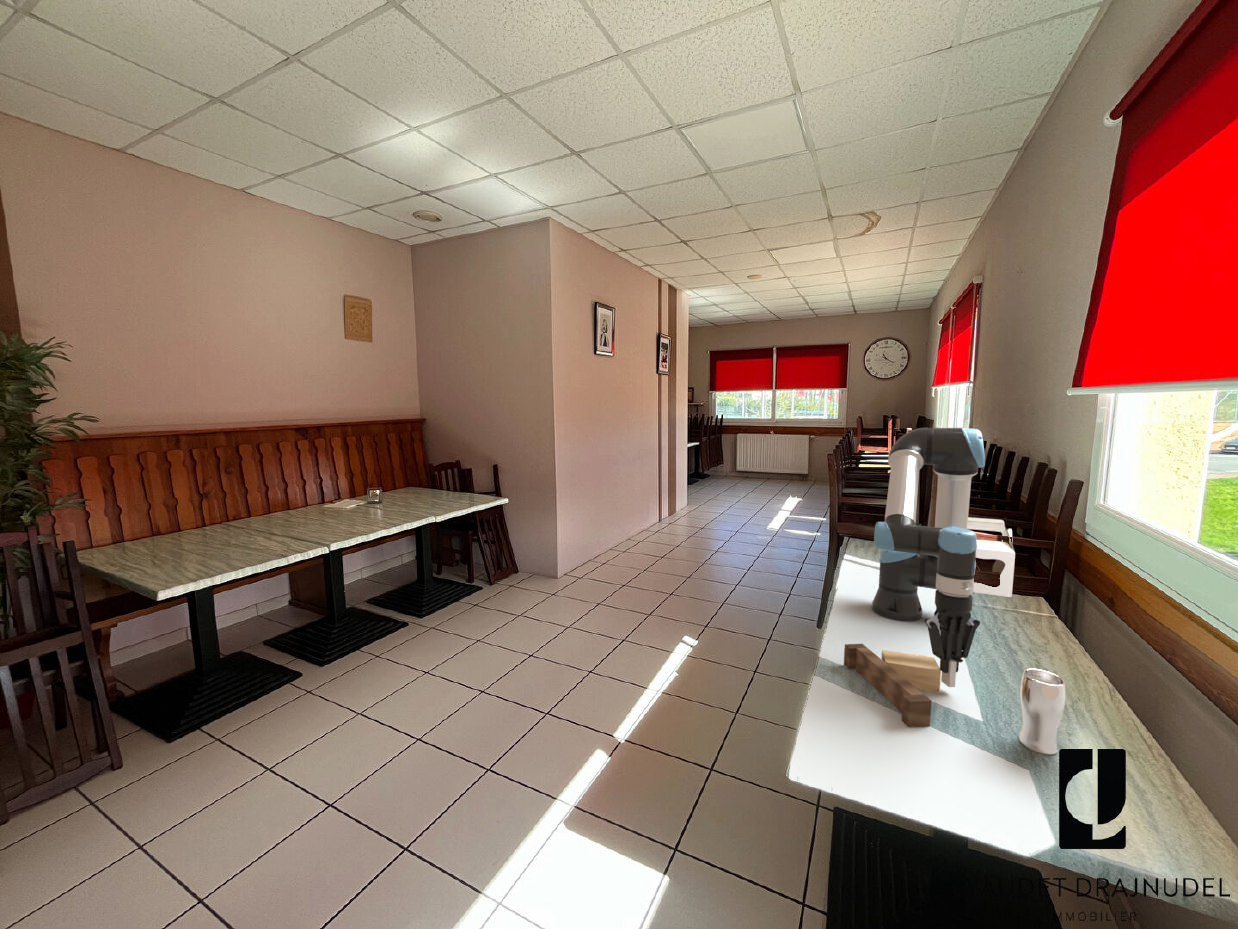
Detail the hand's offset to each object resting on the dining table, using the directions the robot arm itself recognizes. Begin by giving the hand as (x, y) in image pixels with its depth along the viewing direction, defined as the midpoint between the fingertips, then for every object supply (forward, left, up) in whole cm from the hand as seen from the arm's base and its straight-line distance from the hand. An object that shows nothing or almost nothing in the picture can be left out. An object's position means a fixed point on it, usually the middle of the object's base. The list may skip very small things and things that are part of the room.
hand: (948, 684), depth 121 cm
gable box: (-67, +63, -2) cm, 92 cm away
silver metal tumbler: (+20, +4, -2) cm, 20 cm away
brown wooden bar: (-1, -15, -2) cm, 15 cm away
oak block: (-6, -6, -2) cm, 9 cm away
